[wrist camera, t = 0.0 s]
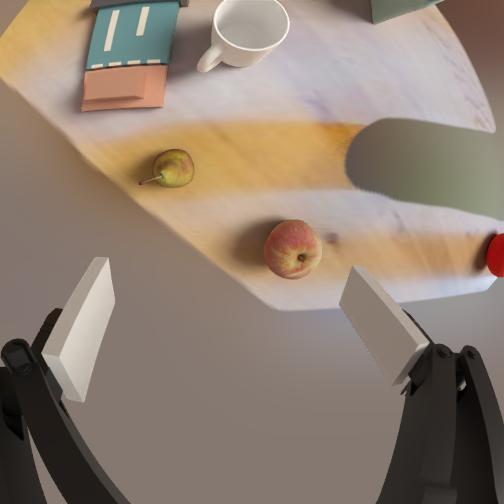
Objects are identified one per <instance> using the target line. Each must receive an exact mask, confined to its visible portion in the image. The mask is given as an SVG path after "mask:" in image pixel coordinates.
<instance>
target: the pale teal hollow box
mask: <svg viewBox="0 0 504 504" xmlns="http://www.w3.org/2000/svg"><path fill="white" fill-rule="evenodd" d="M441 1H443V0H371V7H372V21H373V24H378V23H381V22H383V21H386V20H389V19H392V18H394V17H397V16H400V15H403V14H406V13H410V12H413V11H416V10H420V9H423V8H426V7H429V6H431V5H433V4H436V3H438V2H441Z"/></svg>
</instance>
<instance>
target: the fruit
mask: <svg viewBox="0 0 504 504" xmlns="http://www.w3.org/2000/svg"><path fill="white" fill-rule="evenodd" d="M153 175H154V178H150V179H147V180H143V181H141V182H139V185H142V184H144V183H146V182H148V181H151V180H154V179H156V181H157V182H158V183H159V184H160V185H161V186H163V187H165V188H179V187H183V186H185V185H187V184H189V183H190V182H191V181H192V179H193V175H194V164H193V161H192V159H191V157H190V155H189V154H188V153H187V152H185V151H183V150H180V149H171V150H167V151H165V152H163V153H161V154H160V155H159V156H158V157H157V158H156V160H155V162H154V165H153Z"/></svg>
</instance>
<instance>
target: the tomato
mask: <svg viewBox="0 0 504 504" xmlns="http://www.w3.org/2000/svg"><path fill="white" fill-rule="evenodd" d="M487 266H488V268H489V270H490V271H491V273H492V274H493V275H495V276H497V277H504V233H502V234H499V235H497V236H496V237H494V238H493V240H492V241H491V243H490V245H489V247H488V250H487Z"/></svg>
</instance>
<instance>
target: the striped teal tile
mask: <svg viewBox="0 0 504 504" xmlns="http://www.w3.org/2000/svg"><path fill="white" fill-rule="evenodd" d="M179 7H180V2H153V3H141V4H131V5H123V6H116V7H110V8H104V9H99V12H98V15H97V19H96V23H95V27H94V31H93V35H92V40H91V44H90V49H89V55H88V60H87V66H86V70H89V71H95V70H103V69H111V68H121V67H135V66H158V65H166V66H168V64H169V58H170V52H171V46H172V41H173V36H174V31H175V26H176V21H177V16H178V12H179Z"/></svg>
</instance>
